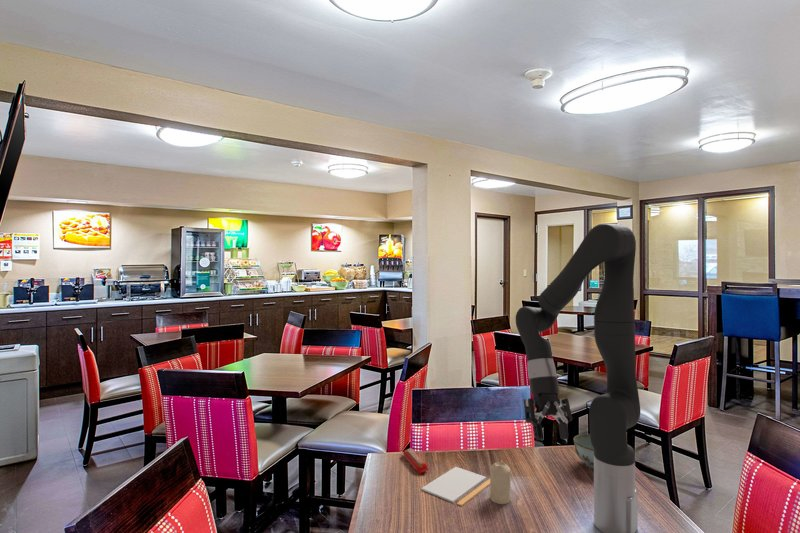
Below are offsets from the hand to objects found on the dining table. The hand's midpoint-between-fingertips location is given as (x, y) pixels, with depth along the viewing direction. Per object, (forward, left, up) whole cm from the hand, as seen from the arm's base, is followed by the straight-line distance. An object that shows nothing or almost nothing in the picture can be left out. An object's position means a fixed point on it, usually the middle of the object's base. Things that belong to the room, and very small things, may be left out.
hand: (552, 439), depth 118 cm
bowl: (0, -35, -19) cm, 40 cm away
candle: (+14, +3, -19) cm, 24 cm away
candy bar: (+46, +1, -20) cm, 50 cm away
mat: (+28, +4, -19) cm, 34 cm away
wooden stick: (+21, +4, -19) cm, 28 cm away
